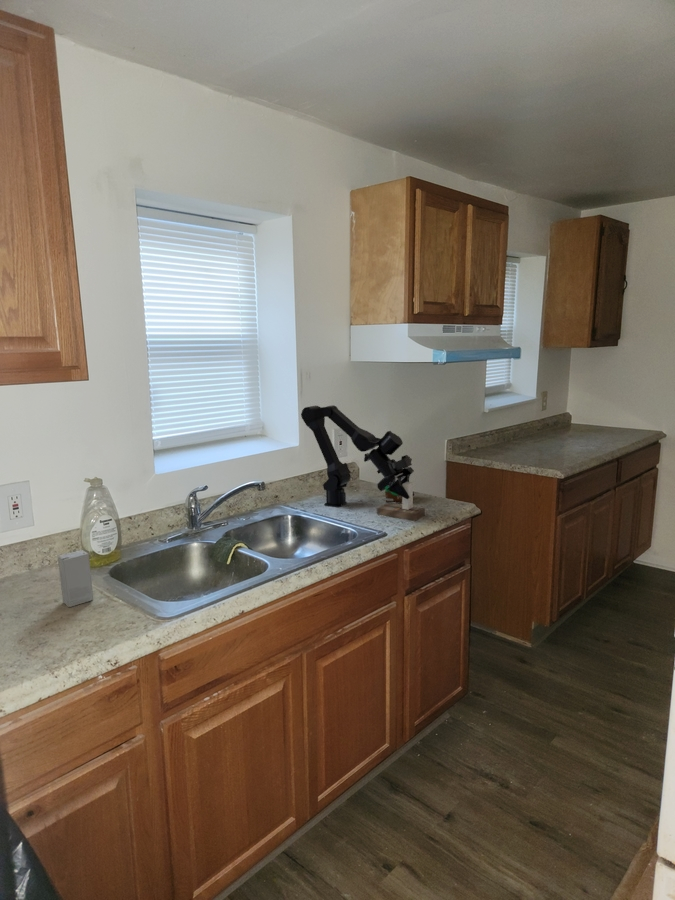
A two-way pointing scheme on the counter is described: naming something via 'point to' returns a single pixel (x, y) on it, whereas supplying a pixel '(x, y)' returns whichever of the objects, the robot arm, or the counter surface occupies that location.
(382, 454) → the robot arm
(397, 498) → the food container
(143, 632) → the counter surface
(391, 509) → the console
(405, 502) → the fader
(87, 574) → the skincare box
